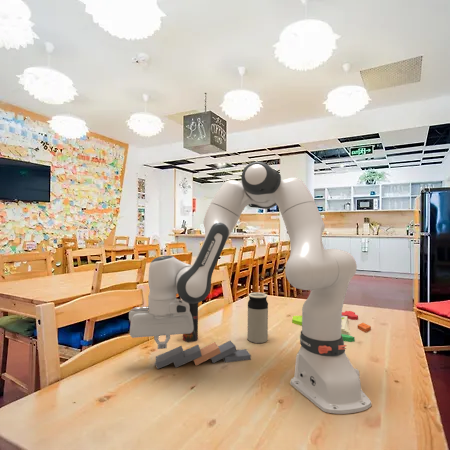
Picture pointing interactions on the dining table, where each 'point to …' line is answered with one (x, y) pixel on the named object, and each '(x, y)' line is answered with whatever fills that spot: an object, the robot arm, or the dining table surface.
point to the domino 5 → (238, 356)
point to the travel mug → (257, 318)
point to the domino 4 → (224, 351)
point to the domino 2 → (189, 355)
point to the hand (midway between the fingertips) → (162, 348)
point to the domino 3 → (207, 353)
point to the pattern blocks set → (342, 325)
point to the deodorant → (194, 334)
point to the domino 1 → (169, 357)
